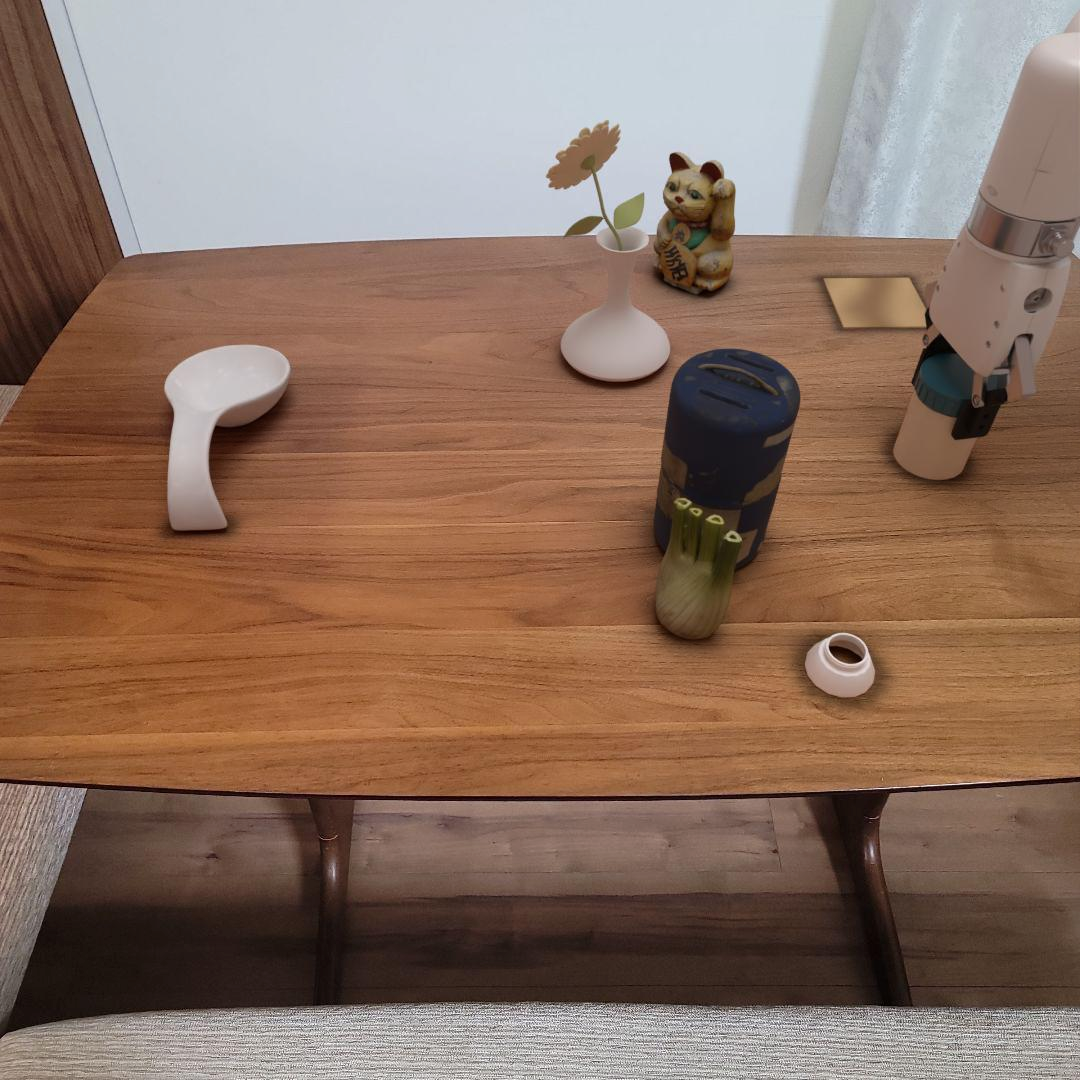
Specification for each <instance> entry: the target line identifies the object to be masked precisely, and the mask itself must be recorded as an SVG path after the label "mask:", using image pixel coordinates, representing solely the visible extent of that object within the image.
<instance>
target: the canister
mask: <svg viewBox="0 0 1080 1080" xmlns="http://www.w3.org/2000/svg"><path fill="white" fill-rule="evenodd" d="M800 406H801V389H800V386H799V383H798V381H797V379H796V377H795V376H794V375H793V373H791V371H790V370H789V369H788V368H787V367H786V366H784V365H783V363H780V362H779V361H778V360H775V359H774V358H772V357H770V356H768V355H766V354H763V353H760V352H756V351H752V350H748V349H743V348H714V349H710V350H707V351H703V352H699V353H697V354H696V355H693V356H692V357H690V358H689V359H687V360H686V361H684V362H683V363H682V364H681V366H679V368H678V369H677V370H676V372H675V374H674V376H673V378H672V381H671V385H670V390H669V399H668V405H667V412H666V420H665V427H664V434H663V439H662V440H663V441H662V448H661V453H660V469H659V477H658V483H657V489H656V500H655V508H654V514H653V531H654V535H655V538H656V540H657V543H658V545H659V546H660V547H661V549H662V550H663V551H664V553H666V551H667V548H668V545H669V542H670V536H671V528H672V518H673V502H674V501H675V500H676V499H677V498H686V499H688V500H689V501H691V502H692V508H699V509H701V510H702V511H703V516H702V519H703V522H702V534H703V529H704V524H705V519H707V518H709V517H710V516H712V515H713V514H714V515H718V516H720V517H722V519H723V521H724V527H723V533H722V538H721V542H720V546H721V544H722V541H723V538H724V537H725V536H726V534H727V533H728V532H730V531H731V530H732V531H735V532H737V533H738V534H739V536H740V537H741V538H742V545H741V548H740V551H739V554H738V558H737V561H736V565H735V570H736V569H738V568H741V567H743V566H745V565H746V564H748V563H749V562H751V561H752V560H753V559H754V558H755V557H756V556H757V555H758V553H759V552H760V551H761V549H762V548H763V545H764V542H765V538H766V533H767V529H768V526H769V522H770V519H771V516H772V513H773V509H774V507H775V503H776V500H777V495H778V491H779V489H780V484H781V480H782V473H783V470H784V466H785V461H786V458H787V454H788V451H789V447H790V443H791V439H792V435H793V431H794V429H795V425H796V421H797V417H798V414H799V411H800ZM701 543H702V541H701Z"/></svg>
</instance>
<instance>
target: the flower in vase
mask: <svg viewBox="0 0 1080 1080" xmlns="http://www.w3.org/2000/svg"><path fill="white" fill-rule="evenodd" d="M609 125H610V120H609V119H605V120H604V121H602V122H598V123H596V124H595V125H594V126H593V129H592V131H591V130H590V127H587V126H585V127H583V128H581V130H580V131H579V133H578V137H574V138H573V139H572V140H570V142H569V146H567V148H566V149H565V148H564V149H561V150H559V151H558V152H557V153H556V154H555V159H556V160H557V161H558V163H556V164H554V165H552V166H551V167H549V169H548V171H547V173H546V175H545V178H546V179H549V181H550V182H549V183H548V185H547V187H548V188H549V189H552V188H554V191H555V190H556V191H559V190H561V189H562V188H563V190H568V189H570V188H571V187H576V186H578V185H579V184H581V183H582V182H583V181H586V180H587V179H589V178H590V177H591V176H592V178H593V182H594V184H595V188H596V193H597V197H598V202H599V207H600V211H601V214H602V216H600V215H588V216H585V217H583V218H581V219H579V220H577V221H576V222H574V223H573V224H572V225H571V226H570V227H569V228H568V229H567V231H566V232H565V234H564V235H563V239H564V238H567V237H572V236H573V237H574V236H583V235H587V234H590V233H591V232H592V231H593V230H594V229H596V228H597V227H598V226H599V225H600V224H601V223H602V221H603V220H604V221H605V223H606V224H607V226H608V227H605V228H603V229H601V230H599V231H598V232H597V234H596V236H595V241H596V243H597V245H598V246H599V247H600V249H601V251H602V252H603V254H604V257H605V260H606V266H607V267H606V268H607V291H606V292H607V294H606V298H605V301H604V302H603V304H602V305H600V306H599V307H597V308H594V309H592V310H590V311H588V312H586V313H584V314H582V315H580V316H579V317H578V318H577V319H575V320H574V321H573V322H571V323H569V326H567V328H566V329H565V330H564V333H563V336H562V337H561V340H560V351H561V354H562V356H563V357H564V359H565V361H567V363H568V365H570V366H571V368H573V369H574V370H576V371H577V372H579V373H580V374H582V375H584V376H586V377H589V378H592V379H595V380H599V381H604V382H605V381H606V382H614V383H616V382H617V383H618V382H619V383H620V382H630V381H636V380H640V379H642V378H645V377H648V376H650V375H652V374H653V373H655V372H657V371H658V370H659V369H661V367H662V366H663V365H664V364H665V363H666V362H667V360H668V358H669V357H670V354H671V344H670V340H669V337H668V335H667V332H666V331H665V329H663V327H662V326H661V325H660V324H659V323H658V322H657V321H656V320H654V319H653V318H652V317H651V316H649V315H648V314H646V313H645V312H643V311H641V310H639V309H637V308H636V307H634V305H633V303H632V300H631V285H632V278H633V272H634V270H635V269H634V268H635V265H636V262H637V259H638V257H639V256H640V255H641V253H642V251H643V250H644V249H645V248H646V247H647V246H648V245H649V242H650V237H649V235H648V234H647V233H646V232H645V231H644V230H642V229H640V228H638V227H634V225H636V224H638V223H639V222H640V220H641V219H642V216H643V213H644V208H645V192H641V193H639V194H636V196H634V197H632V198H630V199H628V200H625V201H623V202H622V203H620V204H619V205H617V206H616V207H615V209H614V211H613V224H612V222H611V221H610V219H609V217H608V215H607V213H606V209H605V205H604V200H603V199H604V198H603V195H602V191H601V187H600V183H599V179H598V176H597V172H599V171H600V170H601V169H602V168H603V167H604V164H605V163H607V162H608V161H609V160H610V158H611V157H612V155H614V153H616V151H617V150H618V147H619V146H618V143H619V141H620V140H621V136H620V134H621V133H622V132H621V129H620V124H619V123H616V124H614V125H613V126H612V127H611V128H610V126H609Z"/></svg>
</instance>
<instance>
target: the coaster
mask: <svg viewBox="0 0 1080 1080" xmlns="http://www.w3.org/2000/svg"><path fill="white" fill-rule="evenodd" d="M822 281H823V283H824V285H825V288H826V291H827V293H828V295H829V298H830V300H831V303H832V306H833V307H834V310H835V312H836V314H837V317H838V319H839V322H840V324H841V327H842V329H843V330H844V329H845V330H847V329H848V330H849V329H853V330H854V329H855V330H856V329H857V330H858V329H926V320H925V312H926V310H927V307H926V305H925V304H924V302H923V301H922V299H921V297H920V294H919V293H918V291H917V290H916V287H915V286H914V284H913V282H912V280H911V278H910V277H823V279H822Z"/></svg>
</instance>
